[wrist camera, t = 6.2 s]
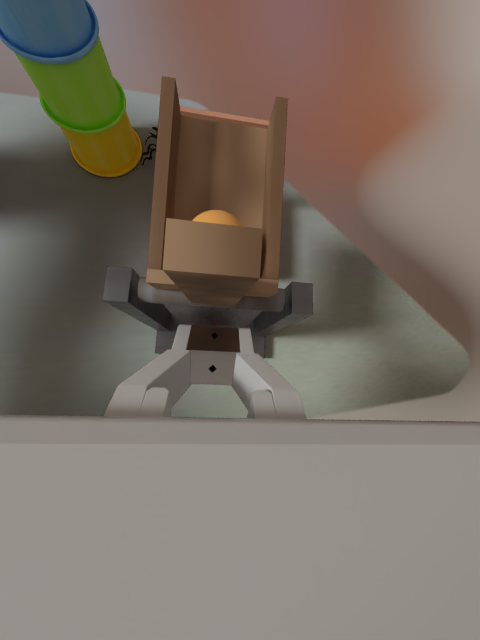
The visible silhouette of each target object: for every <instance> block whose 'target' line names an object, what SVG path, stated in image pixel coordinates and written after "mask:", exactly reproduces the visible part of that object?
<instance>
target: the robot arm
mask: <svg viewBox="0 0 480 640" xmlns="http://www.w3.org/2000/svg"><path fill="white" fill-rule="evenodd" d="M191 384H215V385H232V387H233V389H234V390H235V392H236V393H237V395H238V396H239V398H240V399H241V401H242V402H243V404H244V405H245V407H246V408H247V410H248V415H247V418H190V417H171V410H170V409H171V408H172V407H173V406H174V404H175V403H176V402H177V401H178V400H179V399H180V397H181V396H182V395H183V394H184V393H185V391H186V390H187V389H188V388H189V387H190V386H191ZM0 640H480V422H454V421H390V420H386V421H385V420H324V419H321V420H320V419H306V415H305V412H304V409H303V406H302V403H301V400H300V397H299V394H298V391H297V390H296V389H295V388H294V387H293V386H292V385H291V384H290V383H289V382H288V381H287V380H285V379H284V378H283V377H282V376H281V375H280V374H279V373H278V372H277V371H276V370H275V369H274V368H273V367H272V366H270V365H269V364H268V363H267V362H266V361H265V360H264V359H263V358H262V357H261V356H260V355H259V354H255V353H254V348H253V342H252V335H251V329H250V328H225V327H212V326H200V325H186V324H179V326H178V328H177V332H176V335H175V339H174V342H173V346H172V349H171V350H169V349H168V350H166V351H165V352H163V353H162V354H161V355H159V356H158V357H157V358H155V359H154V360H152V361H151V362H150V363H148V364H147V365H145V366H144V367H143V368H141V369H140V370H138V371H137V372H136V373H134V374H133V375H132V376H130V377H129V378H127V379H126V380H125V381H123V382H122V383H120V384H119V385H118V386H117V388H116V390H115V393H114V395H113V397H112V399H111V401H110V403H109V405H108V407H107V409H106V411H105V413H104V415H103V416H55V415H0Z"/></svg>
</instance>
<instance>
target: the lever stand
mask: <svg viewBox="0 0 480 640" xmlns="http://www.w3.org/2000/svg"><path fill="white" fill-rule="evenodd" d="M139 280H140V277H139V275H138V274H137V273H136V272H135V271H134V270H133V269H132V268H125V267H113V266H107V273H106V279H105V285H104V292H103V298H102V300H103V301H105V302H107V303H108V304H110V305H112V306H114V307H116V308H117V309H119V310H121V311H123V312H125V313H127V314H128V315H130V316H132V317H134V318H136V319H137V320H139V321H141V322H143V323H145V324H147V325H148V326H150V327H152V328H154V329H156V330H157V338H156V347H155V353H157V354H162V353H163V352H165V351H166V350H168V349H169V350H171V349H172V346H173V342H174V339H175V335H176V332H177V328H178V326H179V324H186V325H200V326H212V327H225V328H250V329H251V335H252V342H253V348H254V353H255V354H259V355H260V356H261V357H262V358H264V346H265V336H267V335H269V334H271V333H274V332H276V331H278V330H280V329H282V328H285V327H287V326H289V325H291V324H294V323H296V322H298V321H300V320H302V319H305V318H307V317H309V316H311V315H313V285H312V283H300V282H291V283H290V284H289V285H288V286H287V287H286V288H285V289H284V292H285V303H284V307H283V310H282V311H281V312H275V311H260V310H246V309H232V308H217V307H203V306H189V305H174V304H160V303H146V302H140V301H139V298H138V283H139Z"/></svg>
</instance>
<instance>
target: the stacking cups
mask: <svg viewBox="0 0 480 640" xmlns="http://www.w3.org/2000/svg"><path fill="white" fill-rule="evenodd" d="M98 34H99V26H98V20H97V17H96V14H95V12H94V10H93V8H92V7H91V5H90V4H89V3H88V2H87V1H86V0H0V39H1V40H2V42H3V43H4V44H5V45H6V46H7V47H9V48H10V49H11V50H12V51H14V53H15V54H16V56H17V57H18V59H19V60H20V62H21V64H22V65H23V67H24V68H25V70H26V72H27V73H28V75H29V76H30V78H31V79H32V81H33V83H34V84H35V86H36V88H37V89H38V91H39V93H40V94H39V96H40V102H41V105H42V107H43V109H44V111H45V112H46V114H47V115H48V116H49V118H50V119H51V120H52V121H53V122H55V123H56V124H57V125H59V126H60V127H61V129H62V131H63V132H64V134H65V135H66V137H67V139H68V140H69V142H70V148H71V152H72V155H73V157H74V158H75V160H76V161H77V163H78V164H79V165H80V166H81V167H82V168H84V169H85V170H86V171H88V172H90V173H92V174H94V175H97V176H102V177H117V176H121V175H124V174H126V173H128V172H130V171H131V170H133V169H134V168H135V167H136V166H137V164H138V163H139V161H140V159H141V155H142V144H141V141H140V138H139V136H138V134H137V133H136V131H135V130H134V129H133V128H132V127H131V125H130V122H129V119H128V116H127V113H126V110H125V109H126V98H125V94H124V92H123V89H122V87H121V86H120V84H119V83H118V82H117V80H116V79H115V78H114V77H113V76H112V73H111V70H110V68H109V64H108V61H107V58H106V56H105V53H104V50H103V47H102V44H101V41H100V38H99V35H98Z"/></svg>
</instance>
